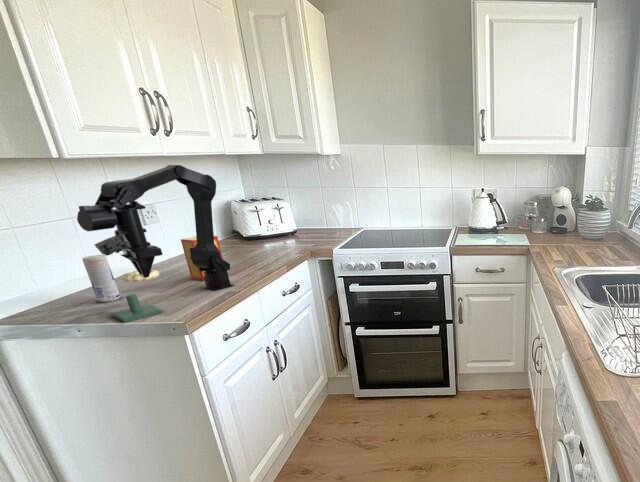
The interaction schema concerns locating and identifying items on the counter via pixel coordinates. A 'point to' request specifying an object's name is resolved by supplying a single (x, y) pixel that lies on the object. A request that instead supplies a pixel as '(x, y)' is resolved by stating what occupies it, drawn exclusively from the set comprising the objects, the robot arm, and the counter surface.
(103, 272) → the beverage can
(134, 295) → the stand
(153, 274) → the ring
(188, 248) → the baking soda box
